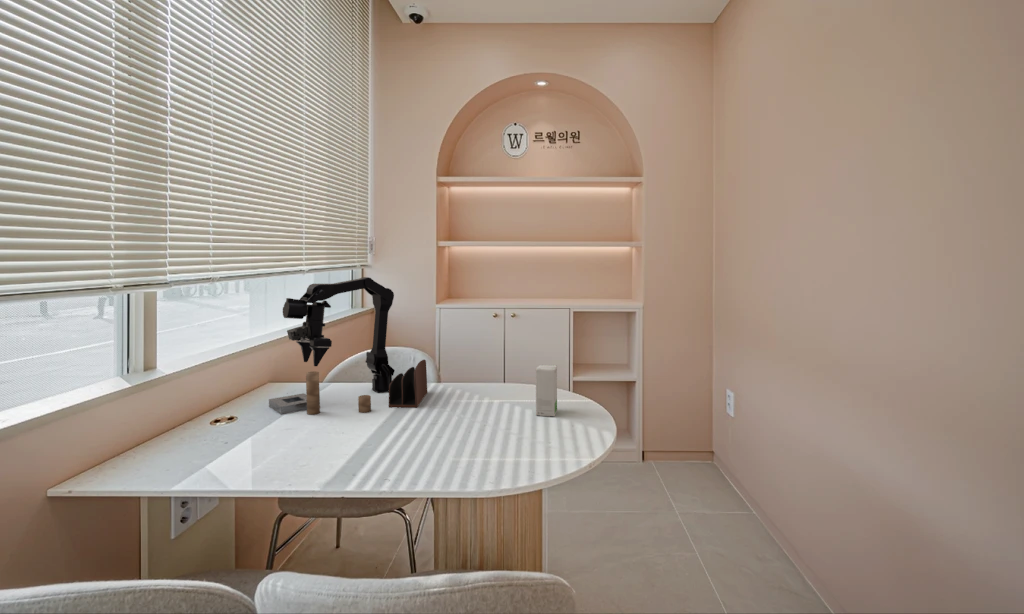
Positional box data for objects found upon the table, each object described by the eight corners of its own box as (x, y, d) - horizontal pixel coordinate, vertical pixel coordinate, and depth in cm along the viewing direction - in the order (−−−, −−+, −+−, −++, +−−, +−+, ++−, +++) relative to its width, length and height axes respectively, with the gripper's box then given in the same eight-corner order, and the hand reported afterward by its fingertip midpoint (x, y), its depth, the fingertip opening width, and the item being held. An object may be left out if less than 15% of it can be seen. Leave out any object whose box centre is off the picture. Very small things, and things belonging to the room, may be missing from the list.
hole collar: (304, 400, 188) (303, 393, 187) (317, 407, 179) (317, 400, 179) (269, 406, 180) (268, 399, 179) (281, 414, 171) (280, 406, 171)
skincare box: (554, 417, 170) (555, 370, 168) (534, 416, 171) (534, 369, 169) (557, 410, 178) (558, 364, 176) (538, 408, 179) (538, 364, 177)
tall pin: (317, 410, 175) (316, 371, 174) (321, 413, 172) (320, 373, 171) (305, 412, 173) (304, 372, 172) (309, 415, 170) (307, 374, 168)
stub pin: (368, 408, 178) (367, 394, 177) (372, 411, 175) (372, 396, 174) (356, 410, 175) (356, 396, 175) (361, 413, 172) (360, 398, 172)
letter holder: (427, 393, 199) (427, 356, 198) (417, 408, 179) (416, 367, 178) (401, 393, 199) (400, 356, 198) (388, 408, 179) (387, 367, 178)
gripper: (281, 316, 184) (277, 360, 184) (301, 321, 170) (296, 368, 170) (313, 317, 191) (309, 360, 191) (334, 322, 177) (329, 368, 178)
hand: (310, 364), depth 183 cm, fingers open, 9 cm apart
